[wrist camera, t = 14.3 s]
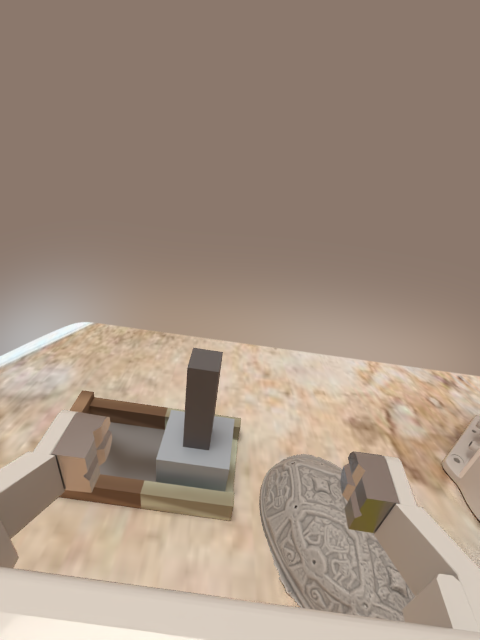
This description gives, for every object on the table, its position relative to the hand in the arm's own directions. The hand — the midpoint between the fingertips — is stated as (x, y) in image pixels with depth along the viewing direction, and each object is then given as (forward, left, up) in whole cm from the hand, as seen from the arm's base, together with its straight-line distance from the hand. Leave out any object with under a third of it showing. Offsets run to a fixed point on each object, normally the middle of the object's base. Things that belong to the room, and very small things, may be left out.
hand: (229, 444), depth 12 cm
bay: (-11, -17, -30) cm, 36 cm away
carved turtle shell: (-17, +6, -31) cm, 36 cm away
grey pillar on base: (-14, -12, -30) cm, 35 cm away
